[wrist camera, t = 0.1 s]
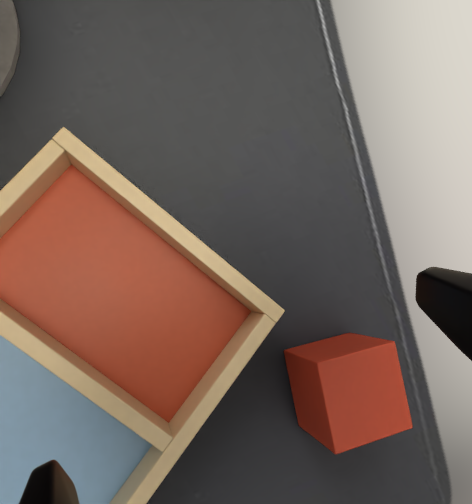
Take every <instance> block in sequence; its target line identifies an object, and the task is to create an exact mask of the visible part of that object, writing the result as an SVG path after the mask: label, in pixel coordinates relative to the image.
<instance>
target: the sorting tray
mask: <svg viewBox="0 0 472 504" xmlns="http://www.w3.org/2000/svg"><path fill="white" fill-rule="evenodd" d="M284 312H285V310H284V309H283V308H281V307H280V306H279V305H278V304H277V303H275V302H274V301H273V300H272V299H271V298H269V297H268V296H267V295H266V294H264V293H263V292H262V291H261V290H260V289H258V288H257V287H256V286H255V285H254V284H252V283H251V282H250V281H249V280H248V279H246V278H245V277H244V276H243V275H242V274H240V273H239V272H238V271H237V270H236V269H234V268H233V267H232V266H231V265H230V264H228V263H227V262H226V261H225V260H224V259H222V258H221V257H220V256H219V255H218V254H216V253H215V252H214V251H213V250H212V249H210V248H209V247H208V246H207V245H205V244H204V243H203V242H202V241H201V240H199V239H198V238H197V237H196V236H195V235H193V234H192V233H191V232H190V231H189V230H187V229H186V228H185V227H184V226H183V225H181V224H180V223H179V222H178V221H177V220H175V219H174V218H173V217H172V216H171V215H169V214H168V213H167V212H166V211H165V210H163V209H162V208H161V207H160V206H159V205H157V204H156V203H155V202H154V201H152V200H151V199H150V198H149V197H148V196H146V195H145V194H144V193H143V192H142V191H140V190H139V189H138V188H137V187H136V186H134V185H133V184H132V183H131V182H130V181H128V180H127V179H126V178H125V177H124V176H122V175H121V174H120V173H119V172H118V171H116V170H115V169H114V168H113V167H112V166H110V165H109V164H108V163H107V162H106V161H104V160H103V159H102V158H101V157H99V156H98V155H97V154H96V153H95V152H93V151H92V150H91V149H90V148H89V147H87V146H86V145H85V144H84V143H83V142H81V141H80V140H79V139H78V138H77V137H75V136H74V135H73V134H72V133H71V132H69V131H68V130H67V129H66V128H65V127H62V128H61V129H60V131H59V132H58V133H57V134H56V135H55V136H54V137H53V138H52V140H50V141H49V142H48V143H47V144H46V145H45V146H44V147H43V148H42V149H41V150H40V151H39V152H38V153H37V154H36V155H35V156H34V157H33V158H32V159H31V160H30V161H29V162H28V163H27V164H26V165H25V166H24V167H23V168H22V169H21V170H20V171H19V172H18V173H17V174H16V175H15V176H14V177H13V178H12V179H11V180H10V181H9V182H8V183H7V184H6V185H5V186H4V187H3V188H2V189H1V190H0V504H19V502H20V499H21V497H22V494H23V492H24V489H25V487H26V484H27V482H28V479H29V477H30V474H31V472H32V471H33V470H34V469H35V468H36V467H38V466H40V465H42V464H44V463H46V462H48V461H50V460H56V461H58V463H59V464H60V465H61V467H62V468H63V469H64V470H65V472H66V473H67V474H68V476H69V477H70V478H71V480H72V481H73V483H74V486H75V488H76V491H77V495H78V500H79V504H146V503H147V502H148V501H149V499H150V498H151V496H152V495H153V494H154V492H155V491H156V489H157V488H158V487H159V485H160V484H161V482H162V481H163V480H164V478H165V477H166V475H167V474H168V473H169V471H170V470H171V469H172V467H173V466H174V464H175V463H176V462H177V460H178V459H179V457H180V456H181V455H182V453H183V452H184V450H185V449H186V448H187V446H188V445H189V443H190V442H191V441H192V439H193V438H194V436H195V435H196V434H197V432H198V431H199V430H200V428H201V427H202V425H203V424H204V423H205V421H206V420H207V418H208V417H209V416H210V414H211V413H212V411H213V410H214V409H215V407H216V406H217V404H218V403H219V402H220V400H221V399H222V398H223V396H224V395H225V393H226V392H227V391H228V389H229V388H230V386H231V385H232V384H233V382H234V381H235V379H236V378H237V377H238V375H239V374H240V372H241V371H242V370H243V368H244V367H245V365H246V364H247V363H248V361H249V360H250V359H251V357H252V356H253V354H254V353H255V352H256V350H257V349H258V347H259V346H260V345H261V343H262V342H263V340H264V339H265V338H266V336H267V335H268V333H269V332H270V331H271V329H272V328H273V326H274V325H275V323H276V322H277V321H278V320H279V318H280V317H281V316H282V314H283V313H284Z"/></svg>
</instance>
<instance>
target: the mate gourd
mask: <svg viewBox="0 0 472 504" xmlns="http://www.w3.org/2000/svg"><path fill="white" fill-rule="evenodd" d="M19 53H20V28H19V23H18V18H17V13H16V9H15V6H14V4H13V1H12V0H0V97H1V96H2V95H3V93H4V92H5V90H6V88H7V86H8V84H9V82H10V80H11V79H12V77H13V75H14V72H15V69H16V65H17V61H18V57H19Z"/></svg>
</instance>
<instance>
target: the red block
mask: <svg viewBox="0 0 472 504" xmlns="http://www.w3.org/2000/svg"><path fill="white" fill-rule="evenodd" d="M284 355H285V360H286V365H287V370H288V375H289V380H290V385H291V390H292V395H293V400H294V405H295V410H296V415H297V420H298V424H299V426H300V427H301V428H302V429H304V430H305V431H306V432H308V433H309V434H310V435H311V436H313V437H314V438H315V439H316V440H318V441H319V442H320V443H322V444H323V445H324V446H325V447H327V448H328V449H329V450H330V451H332V452H333V453H334V454H339V453H342V452H345V451H348V450H351V449H353V448H356V447H359V446H362V445H365V444H368V443H371V442H373V441H376V440H379V439H382V438H385V437H388V436H391V435H394V434H396V433H399V432H402V431H405V430H408V429H411V428H413V426H412V421H411V416H410V411H409V407H408V402H407V397H406V392H405V388H404V383H403V378H402V374H401V369H400V364H399V359H398V355H397V350H396V345H395V342H394V341H390V340H385V339H380V338H374V337H369V336H364V335H359V334H354V333H346V334H343V335H339V336H335V337H331V338H327V339H324V340H320V341H316V342H312V343H308V344H305V345H301V346H297V347H293V348H289V349H286V350H284Z"/></svg>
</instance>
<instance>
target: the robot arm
mask: <svg viewBox="0 0 472 504" xmlns="http://www.w3.org/2000/svg"><path fill="white" fill-rule="evenodd" d="M416 301H417V303H418V305H419V307H420V308H421V309H422V310H423V311H424V312H425V313H426V315H427V316H428V317H429V318H430V319H431V320H432V321H433V322H434V323H435V324H436V325H437V326H438V327H439V328H440V329H441V331H442V332H443V333H444V334H445V335H446V336H447V337H448V338H449V339H450V340H451V341H452V342H453V343H454V344H455V345H456V346H457V347H458V348H459V349H460V350H461V351H462V352H463V353H464V354H465V355H466V356H467V357H468V358H469V359H470V360H471V361H472V274H471V273H465V272H460V271H454V270H449V269H443V268H438V267H430V268H428V269H426V270H424V271H422V272H420V273H419V274H418V275H417V279H416ZM19 504H79V500H78V495H77V491H76V488H75V486H74V483H73V481H72V480H71V478H70V477H69V476H68V474H67V473H66V472H65V470H64V469H63V468H62V467H61V465H60V464H59V463H58V461H56V460H50V461H48V462H46V463H44V464H42V465H40V466H38V467H36V468H35V469H34V470H33V471H32V472H31V474H30V477H29V479H28V482H27V484H26V487H25V489H24V492H23V494H22V497H21V499H20V502H19Z"/></svg>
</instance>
